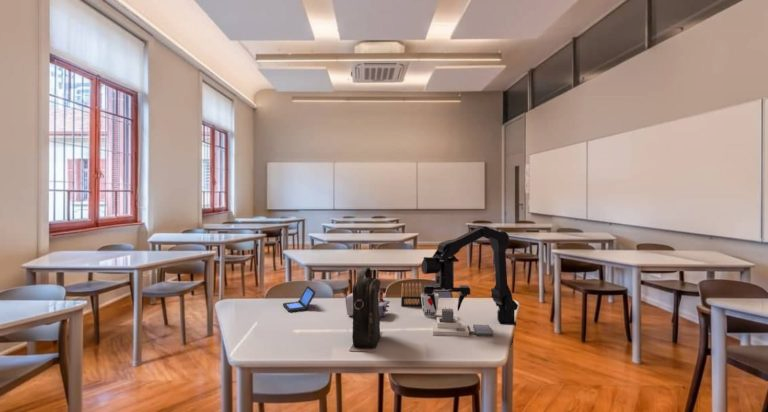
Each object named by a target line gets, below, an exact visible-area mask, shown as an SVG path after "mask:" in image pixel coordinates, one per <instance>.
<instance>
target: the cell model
mask: <svg viewBox="0 0 768 412" xmlns="http://www.w3.org/2000/svg"><path fill="white" fill-rule="evenodd" d="M378 300H379V301H378V302H379V315H380V318H382V317H383V316H386V315H387V314H386V313H387V312H388V311H389V310H388V309H387V308H390V305H389V304H390V300H386V299H384V298H382V297H381V296H379V298H378ZM344 302H345V310H346V314H347V316H351V317H353V292H352V293H349V294H347V295H346V297H345V301H344Z"/></svg>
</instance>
